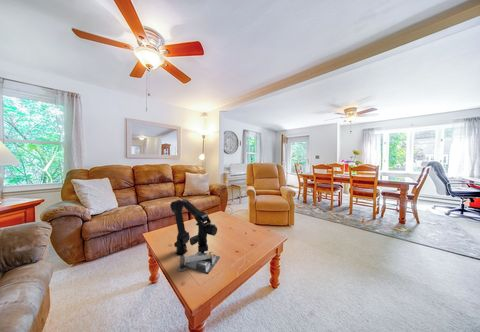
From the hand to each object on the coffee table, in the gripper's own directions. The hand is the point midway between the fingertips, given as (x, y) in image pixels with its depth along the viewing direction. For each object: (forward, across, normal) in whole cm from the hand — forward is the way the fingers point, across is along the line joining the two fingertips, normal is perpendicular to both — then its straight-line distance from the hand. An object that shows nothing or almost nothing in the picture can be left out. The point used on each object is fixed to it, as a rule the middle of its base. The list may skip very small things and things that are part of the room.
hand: (202, 253), depth 107 cm
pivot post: (+5, +5, -13) cm, 15 cm away
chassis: (+5, +2, 0) cm, 5 cm away
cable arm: (0, +5, -2) cm, 6 cm away
